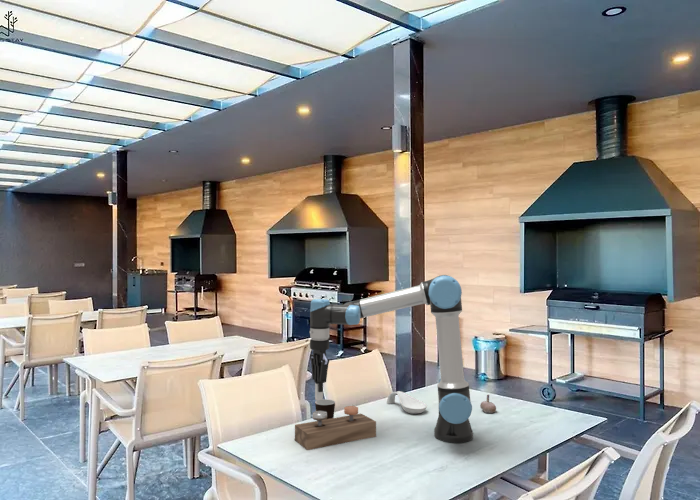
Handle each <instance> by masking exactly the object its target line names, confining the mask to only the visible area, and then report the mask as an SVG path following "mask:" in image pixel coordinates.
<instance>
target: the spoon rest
mask: <svg viewBox="0 0 700 500" xmlns="http://www.w3.org/2000/svg"><path fill="white" fill-rule="evenodd" d="M396 395H397V396H398V400H399V402H400V405H401V407H402V409H403V410H404V411H405V412H406V413H407V414H412V415H418V414H421V413H423V412H425V411H426V410H427V408H428V405H427V404H426V403H425V402H424V401H421V400H420V399H417V398H415V397H413V396H411V395H409V394H407V393H405V392H404V391H402V390H401V391H400V390H398V391H392V392H391V393H389V395H388V396H387V398H386V399H387V400H386V405H387V404H388V405H390V404H395V403H396V401H395V400H396Z"/></svg>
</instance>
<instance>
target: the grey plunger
mask: <svg viewBox="0 0 700 500" xmlns="http://www.w3.org/2000/svg"><path fill="white" fill-rule="evenodd" d="M312 419H313V420H314V421H317V420H318V427H321V426H322V420H325V419H327V412H325V411H316V410H315V411H313V412H312Z"/></svg>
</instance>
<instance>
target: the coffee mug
mask: <svg viewBox="0 0 700 500" xmlns="http://www.w3.org/2000/svg"><path fill="white" fill-rule="evenodd" d="M314 402H315V403H314V405H315V406H314V407H315V411H325V412H327V419H332V418H335V417H334V415H335V408H336V401H335V400H334V399H329V398H328V399H324V398H323V400H315V401H314ZM325 420H326V419H325ZM316 421H318V420H316Z"/></svg>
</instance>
